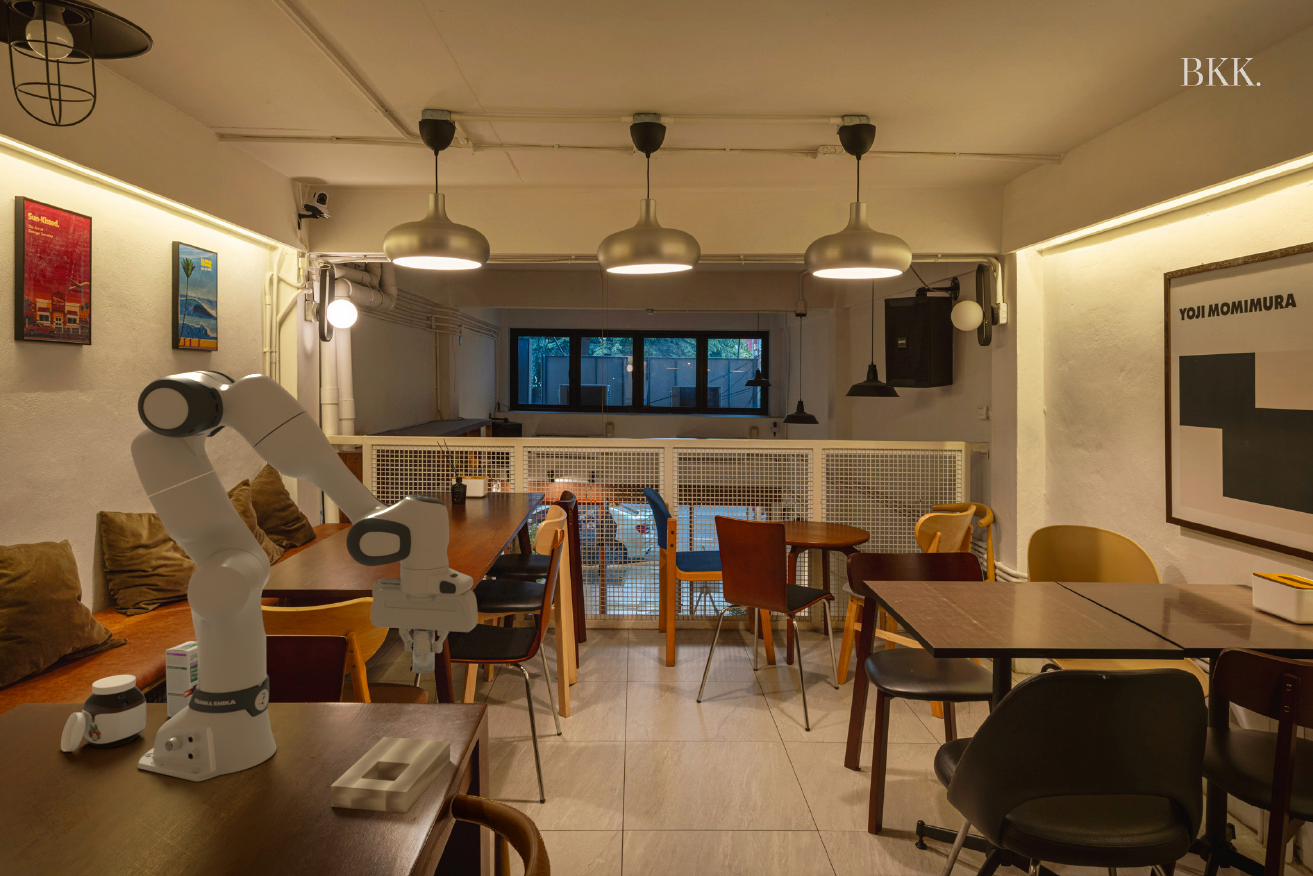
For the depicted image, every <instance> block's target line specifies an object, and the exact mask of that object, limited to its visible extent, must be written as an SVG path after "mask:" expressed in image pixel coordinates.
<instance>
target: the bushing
mask: <svg viewBox="0 0 1313 876" xmlns="http://www.w3.org/2000/svg"><path fill="white" fill-rule="evenodd" d="M412 640H413V651H412V672H413V673H414V674H428V673H431V672H433V671H435V662H436V661H435V657H436V656H435V654H436V653H432V644H433V643H434V642H435V640H436V630H422V629H412Z"/></svg>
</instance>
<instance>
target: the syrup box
mask: <svg viewBox="0 0 1313 876" xmlns="http://www.w3.org/2000/svg"><path fill="white" fill-rule="evenodd" d="M165 676H166V678H165V679H166V680H165V681H166V706H167V709H166V711H167V712H166V714H167V717H169V718H172V717H173V716H174V715H176V714H177V713H178V712H180V711H181V710H182V709H184V708H185V707H186V706H187V705H189V702H190V699H191V697H192V694H191V695H189V696H187V697H185V698H184V696H185V695H186V694H187V693H188V692H186V693H183V692H185V691H187V690H189V689H191V688H193V686H194V685H196V684H198V656H197V640H195V641H193V640H192V641H191V640H190V641H186V642H184V643H182V644H178V645H176V646H173V647H171V648H167V649H166V650H165Z"/></svg>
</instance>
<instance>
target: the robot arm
mask: <svg viewBox="0 0 1313 876" xmlns="http://www.w3.org/2000/svg"><path fill="white" fill-rule="evenodd" d="M137 411H138V415H139V418H140V420H141V421H142V423H143V424H144V425H145V426H146V429H144V430H142V431H140V432H139V433H138V434H137V435H136V436H135V437H134V438H133V439H132V442H131V445H130V453H131V456H132V461H133V463H134V464H133V465H134V468H135V469H136V472H137V475H138V478H139V481H140V483H141V485H142V488H143V490H144V491H145V494H146V496H147V497H148V499H149V501H150V503H151V505H152V507H153V508H154V511H155V513H156V515H157V516H158V518H159V520H160V522H161V523H162V526H163V527H164V529H165V532H166V533H167V535H168V536H169V537H170V539H171V540H173V541H174V542H176V543H177V544H178V545H179V546H180V547H181V549H182V550H183V552H185V553H186V555H187V556H188V558H190V560H191V561H192V562H193V564H194V565H195V566H196V569H195V570H194V571H193V573H192V574H191V576H190V578H189V582H188V586H187V594H186V595H187V597H186V598H187V601H188V604H189V607H190V613H191V618H192V624H193V629H194V632H195V639H196V640H195V641H197V656H198V684H196V685H194V686H193V688H191V689H189V690H187V691H185V692H183V693H186V692H188V693H187V694H186V695H185V696H184V698H185V697H187V696H189V695H191V694H192V697H191V699H190V702H189V705H187V706H186V707H185V708H184V709H182V710H181V711H180V712H178V713H177V714H176V715H174V716H173V717H170V719H168V720H166V721H165V722H164V723H163V724H162V725H161V726H160V727H159V729H158V730H157V732H156V734H155V737H154V742H153V748H151V749H150V750H148V751H147V752H146V753H144V754H143V755H142V756H141V757H140V758H139V761H138V763H137V769H141V770H145V771H147V772H148V771H149V772H153V773H157V774H162V775H166V776H171V777H176V778H179V779H184V780H188V781H192V782H202V781H206V780H208V779H212V778H215V777H218V776H220V775H226V774H233V773H237V772H240V771H244V770H247V769H249V768H253V767H255V766H257V765H261V763H264V762H265V761H267V760H268V759H270V758H271V757H272V756H273V755H274V754H275V752H276V751H277V745H276V742H275V737H274V735H273V730H272V727H271V722H270V715H269V701H270V677H269V675H268V674H267V633H266V631H265V626H264V620H263V618H264V617H263V610H262V593H263V589H264V588H265V587H266V585H267V583H268V581H269V579H270V577H271V570H272V567H271V560H270V558H269V556H268V554H267V552H266V551H265V550H264V549H263V547H262V546H261V545H260V543H259V541H258V540H257V538H256V537H255V535H254V534H253V532H252V531H251V529H250V528H249V527H248V525H247V524H246V522H245V521H244V520H243V518H242V517H241V516H240V514H239V513H238V511H237V510H236V508H235V506H234V504H233V502H232V500H231V498H230V497H229V494H228V493H227V491H226V489H225V487H224V485H223V483H222V481H221V479H220V477H219V475H218V473H217V471H216V470H215V467H214V465H213V464H212V461H210V458H209V456H208V454H207V451H206V449H205V444H206V441H207V440H206V439H207V438H212V437H214V436H216V435H217V434H218V433H219V432H221V431H222V430H223V429H224V428H226V427H229V428H230V429H233V430H234V431H236V432H237V433H238V434H239V435H241V437H243V438H244V440H245V441H246V442H247V443H248V444H249V446H250V447H251V448H252V449H253V450H254V451H255V452H256V453H257V454H258V456H260V457H261V458H262V459H263V461H265V463H267V464H268V465H269V466H270V467H272V469H274V470H275V471H277V472H278V473H279V474H281V475H283V476H287V477H289V478H292V479H297V480H301V481H305V482H307V483H309V484H312V485H313V486H315V487H317V488H318V489H320V490H321V491H322V492H323V494H325V495H326V496H327V497H328V498H329V499H330V500H331V501H332V502H333V503H334V504H335V505H336V506H337V508H338V509H340V510H341V512H342V513H343V514H344V515H345V516H346V517H347V518H348V519H349V521H350V522H351V525H352V526H351V528H350V530H349V531H348V533H347V536H346V549H347V551H348V554H349V555H350V557H351V558H352V559H353V560H354V561H355V562H356V563H359V564H360V565H362V566H365V567H378V566H384V565H389V564H390V565H391V564H393V563H397V562H399V563H400V570H399V571H400V573H399V575H400V577H398V578H397V577H395V578H391V577H390V578H388V577H380V578H379V579H378V580H376V581H374V583H373V584H372V586H371V587H372V590H371V593H372V598H373V599H372V602H371V607H370V608H371V609H370V610H371V611H370V623H371V624H372V626H373V627H376V628H388V629H389V628H393V629H394V628H395V629H398V634H399V637H400V638H401V639H402V641H403V642H404V651H405V652H413V638H412V637H411V634H410V631H412V630H413V629H422V630H435V631H437V636H438V637H439V638H438V640H436V641H435V642H434V643H433V644H432V653H435V654H440V653H442V652H443V649H444V648H443V647H444V646H443V645H444V641H445V640H446V638H447V636H448V634H449V633H450V632H458V633H459V632H460V633H469V632H471V631H472V630H473V629H474V628H475V627H476V626H477V625H478V621H479V620H478V619H479V617H478V612H479V611H478V603H477V597H476V594H475V592H474V591H473V590H472V587H473V585H474V578H473V577H472V576H471V575H468V574H465V573H462V572H459V571H457V570H456V569H452V568H451V567H449V565H450V562H449V558H448V554H447V553H448V546H449V544H450V522H449V520H450V519H449V512H448V508H447V506H446V504H445V503H444V502H443V501H442V500H441V499H440V498H437V497H434V496H430V495H427V494H426V495H425V494H409V495H406V496H405V497H404V498H402V499H401V500H400V501H398V502H396V503H394V504H392V505H391V504H388V503H387V502H384V501H382V500H380V499H379V498H378V497H376V496H375V495H374V494H373V493H372V492H371V491H370V490H369V489H368V488H367V486H366V485H364V484H363V483H362V481H361V480H360V479H359V478H358V477H357V476H356V475H355V474H354V473H353V472H352V471H351V469H350V468H349V467H348V466H347V465H346V463H345V462H344V461H343V459H342V458H341V457H340V455H339V454H338V453H337V451H336V450H335V448H334V446H333V445H332V444H331V442H330V440H329V438H328V437H327V435H326V434H325V433H324V431H323V430H322V429H321V427H320V425H319V424H318V422H316V420H315V419H314V418H313V417H312V415H311V414H310V413H309V412H308V411H307V409H305V407H304V406H303V405H302V403H300V402H299V401H298V400H297V398H295V397H294V396H293V395H292V394H291V393H290V392H289V391H288V390H287V389H285V388H284V387H283V386H282V385H280V383H278V382H277V381H276V380H274V379H273V378H272V377H270V376H269V375H266V374H262V373H256V374H255V373H254V374H250V375H245V376H243V377H241V378H239V379H238V380H235V379H234V378H232V377H231V376H230V375H228V374H225V373H223V372H219V371H217V370H189V371H183V372H180V373H177V374H172V375H171V374H169V375H166V376H161V377H159V378H157V379H155V380H153V381H152V382H150V383H149V384H148V385H146V387H145V388H144V389H143V390H142V391H141V393H140V395H139V397H138V400H137Z"/></svg>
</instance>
